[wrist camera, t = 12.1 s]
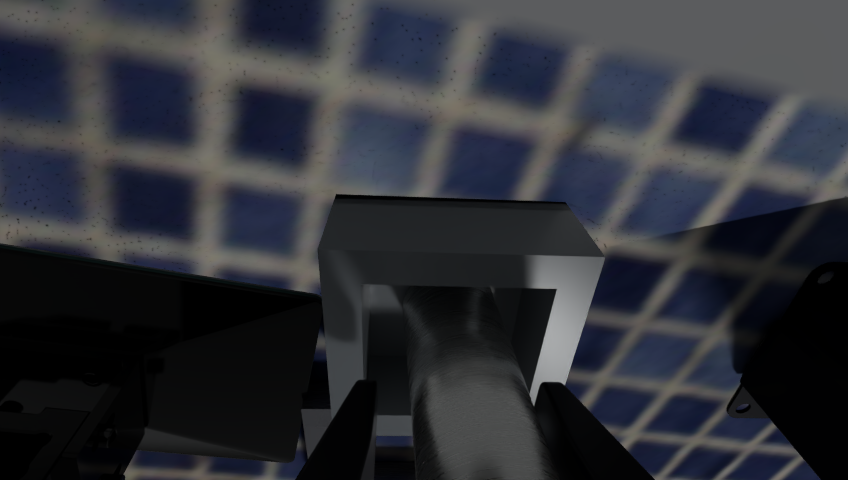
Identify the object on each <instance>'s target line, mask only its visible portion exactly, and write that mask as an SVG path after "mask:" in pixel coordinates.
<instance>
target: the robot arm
mask: <svg viewBox="0 0 848 480" xmlns="http://www.w3.org/2000/svg"><path fill="white" fill-rule="evenodd" d="M829 271H834V276H833V278H832V279H831V280H830V281H828V282H826V283H824V284H818V283H817V281H818V278H819V277H820V276H821V275H822V274H824V273H826V272H829ZM740 383H741V386H740V387H739V389H738V390H737V392H736V394H735V395H734V397H733V399H732V400H731V402H730V403H729V405H728V407H727V413H728V414H729V415H730V416H731V417H734V418H770V419H771V421H772V422H773V423H774V424H775V425H776V427H777V428H778V429H779V430H780V431H781V433H782V434H783V435H784V436H785V437H786V439H787V440H788V441H789V442H790V443H791V445H792V446H793V447H794V448H795V449H796V451H797V452H798V453H799V454H800V455H801V457H802V458H803V459H804V460H805V461H806V463H807V464H808V465H809V466H810V467H811V468H812V470H813V471H814V472H815V473H816V474H817V476H818V477H819V478H820V479H821V480H848V262H830V263H825V264H823V265H821V266H819V267H817V268H816V269H814V270H813V271H812V272H811V273H810V274H809V276H808V277H807V278H806V280H805V282H804V283H803V285H802V287H801V288H800V290H799V291H798V293H797V295H796V296H795V298H794V300H793V301H792V303H791V304H790V306H789V308H788V309H787V311H786V313H785V314H784V316H783V317H782V319H781V320H777V321H775V322H774V323H773V325H772V327H771V328H770V330H769V332H768V333H767V335H766V337H765V338H764V340H763V341H762V343H761V345H760V346H759V348H758V350H757V351H756V353H755V355H754V356H753V358H752V360H751V361H750V363H749V365H748V366H747V368H746V369H745V371H744V373H743V374H742V377H741V380H740ZM742 404H749V407H748V408H747V409H745V410H743V411H736V408H737V407H738V406H740V405H742ZM534 408H535V411H536V414H537V416H538V419H539V422H540V425H541V427H542V430H543V433H544V436H545V438H546V441H547V444H548V447H549V449H550V452H551V455H552V457H553V460H554V463H555V466H556V468H557V471H558V474H559V477H560V479H561V480H655V479H654V478H653V477H652V476H651V475H650V474H649V473H648V472H647V471H646V470H645V469H644V468H643V467H642V466H641V465H640V464H639V463H638V462H637V460H636V459H635V458H634V457H633V456H632V455H631V454H630V453H629V452H628V451H627V450H626V449H625V448H624V447H623V446H622V445H621V444H620V443H619V442H618V441H617V440H616V439H615V437H614V436H613V435H612V434H611V433H610V432H609V431H608V430H607V429H606V428H605V427H604V426H603V425H602V424H601V423H600V422H599V421H598V420H597V419H596V418H595V417H594V416H593V414H592V413H591V412H590V411H589V410H588V409H587V408H586V407H585V406H584V405H583V404H582V403H581V402H580V401H579V400H578V399H577V398H576V397H575V396H574V395H573V394H572V393H571V391H570V390H569V389H568V388H567V387H566V386H565V385H564V384H562V383H560V382H542V383H541V384H540V386H539V390H538V393H537V397H536V401H535V404H534ZM377 412H378V384H377V381H376V380H363V379H360V380H357V381H356V382H355V384H354V385H353V387H352V389H351V390H350V392H349V393H348V395H347V397H346V398H345V400H344V402H343V403H342V405H341V406H340V408H339V410H338V411H337V413H336V415H335V416H334V418H333V419H332V421H331V423H330V424H329V426H328V428H327V429H326V431H325V432H324V434H323V436H322V437H321V439H320V441H319V442H318V444H317V445H316V447H315V449H314V450H313V452H312V453H311V455H310V457H309V458H308V460H307V462H306V463H305V465H304V466H303V468H302V470H301V471H300V473H299V475H298V476H297V478H296V479H295V480H374V468H375V450H376V432H377Z"/></svg>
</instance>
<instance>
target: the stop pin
mask: <svg viewBox="0 0 848 480" xmlns="http://www.w3.org/2000/svg"><path fill="white" fill-rule="evenodd" d="M403 315H404V328H405V341H406V354H407V367H408V380H409V393H410V406H411V419H412V432H413V445H414V458H415V471H416V480H561V479H560V477H559V474H558V471H557V468H556V466H555V463H554V460H553V457H552V455H551V452H550V449H549V447H548V444H547V441H546V438H545V436H544V433H543V430H542V427H541V425H540V422H539V419H538V416H537V414H536V411H535V408H534V405H533V403H532V400H531V397H530V394H529V392H528V389H527V386H526V383H525V381H524V378H523V375H522V373H521V370H520V367H519V364H518V362H517V359H516V356H515V353H514V351H513V348H512V345H511V342H510V340H509V337H508V334H507V331H506V329H505V326H504V323H503V320H502V318H501V315H500V312H499V309H498V307H497V304H496V301H495V299H494V296H493V293H492V290H491V288H490V287H454V286H410V287H409V289H408V290H407V292H406V294H405V296H404V300H403Z"/></svg>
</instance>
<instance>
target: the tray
mask: <svg viewBox="0 0 848 480" xmlns="http://www.w3.org/2000/svg"><path fill="white" fill-rule="evenodd" d="M318 259H319V271H320V283H321V295H322V307H323V319H324V331H325V343H326V355H327V367H328V379H329V391H330V403H331V415H332V419H333V418H334V416H335V415H336V413H337V411H338V410H339V408H340V406H341V405H342V403H343V402H344V400H345V398H346V397H347V395H348V393H349V392H350V390H351V389H352V387H353V385H354V384H355V382H356V381H357V380H360V379H363V380H376V381H377V384H378V412H377V432H376V436H413V432H412V419H411V406H410V393H409V380H408V367H407V354H406V341H405V328H404V315H403V300H404V296H405V294H406V292H407V290H408V289H409V287H410V286H454V287H490V288H491V290H492V293H493V296H494V299H495V301H496V304H497V307H498V309H499V312H500V315H501V318H502V320H503V323H504V326H505V329H506V331H507V334H508V337H509V340H510V342H511V345H512V348H513V351H514V353H515V356H516V359H517V362H518V364H519V367H520V370H521V373H522V375H523V378H524V381H525V383H526V386H527V389H528V392H529V394H530V397H531V400H532V403H533V405H534V404H535V401H536V397H537V393H538V390H539V386H540V384H541V383H542V382H560V383H562V384H564V385H565V383H566V380H567V377H568V373H569V370H570V367H571V364H572V361H573V358H574V355H575V351H576V348H577V345H578V342H579V339H580V336H581V332H582V329H583V326H584V323H585V320H586V317H587V314H588V310H589V307H590V304H591V301H592V298H593V295H594V291H595V288H596V285H597V282H598V279H599V276H600V273H601V269H602V266H603V263H604V260H605V256H604V255H603V253H602V252H601V250H600V249H599V248H598V246H597V245H596V244H595V242H594V241H593V240H592V238H591V237H590V235H589V234H588V233H587V231H586V230H585V229H584V227H583V226H582V224H581V223H580V222H579V220H578V219H577V218H576V216H575V215H574V213H573V212H572V211H571V209H570V208H569V207H568V205H567V204H566V202H545V201H516V200H487V199H458V198H430V197H401V196H372V195H343V194H336V196H335V199H334V202H333V205H332V208H331V211H330V214H329V217H328V220H327V223H326V226H325V229H324V232H323V235H322V238H321V241H320V244H319V247H318Z"/></svg>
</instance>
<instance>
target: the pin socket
mask: <svg viewBox="0 0 848 480" xmlns="http://www.w3.org/2000/svg"><path fill="white" fill-rule="evenodd" d="M301 412H302V419H303V427H304V434H305V441H306V449H307V456H308V458H309V457H310V455H311V453H312V452H313V450H314V449H315V447H316V445H317V444H318V442H319V441H320V439H321V437H322V436H323V434H324V432H325V431H326V429H327V428H328V426H329V424H330V423H331V421H332V415H331V403H330V391H329V382H309V385H308V391H307V396H306V400H305V401H303V403H302V407H301ZM374 480H416V471H415V462H375V468H374Z"/></svg>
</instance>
